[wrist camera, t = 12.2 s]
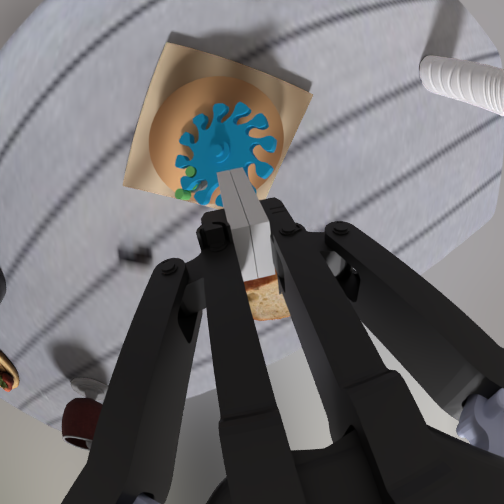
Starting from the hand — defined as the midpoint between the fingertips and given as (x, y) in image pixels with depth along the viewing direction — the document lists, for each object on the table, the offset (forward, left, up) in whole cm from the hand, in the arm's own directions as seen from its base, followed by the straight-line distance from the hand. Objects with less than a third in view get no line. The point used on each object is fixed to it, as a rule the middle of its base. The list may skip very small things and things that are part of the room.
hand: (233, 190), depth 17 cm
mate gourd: (-14, -67, -19) cm, 71 cm away
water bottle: (+25, +24, -19) cm, 39 cm away
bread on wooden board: (0, 0, -18) cm, 18 cm away
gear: (0, -1, -13) cm, 13 cm away
